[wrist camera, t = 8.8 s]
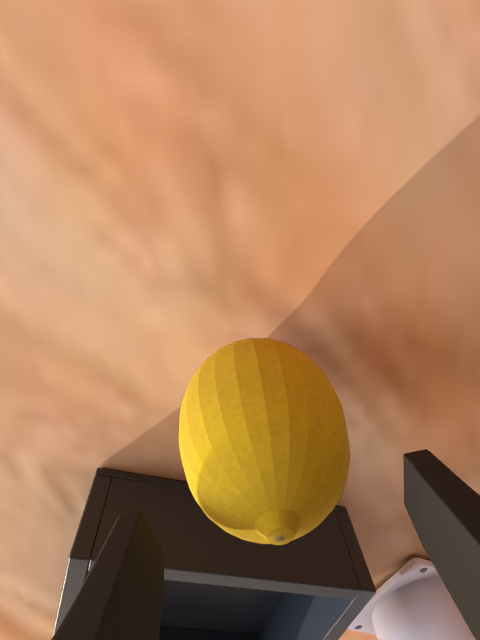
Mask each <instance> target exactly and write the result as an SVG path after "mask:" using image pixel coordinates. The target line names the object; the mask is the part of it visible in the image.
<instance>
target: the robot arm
mask: <svg viewBox="0 0 480 640" xmlns="http://www.w3.org/2000/svg"><path fill="white" fill-rule="evenodd" d="M404 504H405V507H406V509H407V511H408V514H409V516H410V518H411V521H412V523H413V525H414V528H415V530H416V532H417V534H418V536H419V539H420V541H421V543H422V545H423V547H424V549H425V551H426V553H427V554H428V556H429V558H430V560H431V561H428V560H425V559H422V558H413V559H411V560H409V561H408V562H407V563H406V564H405V565H404V566H403V567H402V568H401V569H399V570H398V571H397V572H396V573H395V574H394V575H393V576H392V577H391V578H389V579H388V580H387V581H386V582H385V583H384V584H383V585H382V586H381V587H380V588H378V589H377V590H376V593H375V594H374V596H373V597H372V598H371V599H370V601H369V602H368V603H367V604H366V606H365V607H364V608H363V609H362V611H361V612H360V613H359V614H358V616H357V617H356V618H355V619H354V621H353V622H352V623H351V624H350V626H349V627H348V628H347V629H349V630H354V631H359V632H363V633H368V634H373V635H377V638H378V640H480V495H478V494H477V493H476V492H475V491H474V490H473V489H471V488H470V487H469V486H468V485H467V484H466V483H464V482H463V481H462V480H461V479H460V478H459V477H458V476H456V475H455V474H454V473H453V472H452V471H451V470H450V469H449V468H448V467H446V466H445V465H444V464H443V463H442V462H441V461H440V460H439V459H438V458H437V457H435V456H434V455H433V454H432V453H431V452H430V451H428V450H427V449H425V450H420V451H415V452H411V453H406V454H404ZM163 597H164V552H163V550H162V548H161V546H160V544H159V542H158V540H157V538H156V536H155V534H154V532H153V530H152V528H151V526H150V524H149V522H148V520H147V518H146V516H145V514H144V512H143V510H142V509H139V510H134V511H129V512H125V513H120V515H119V516H118V518H117V520H116V522H115V524H114V526H113V527H112V529H111V531H110V533H109V535H108V537H107V539H106V541H105V543H104V545H103V547H102V549H101V551H100V553H99V555H98V557H97V559H96V561H95V562H94V564H93V566H92V568H91V570H90V572H89V574H88V576H87V578H86V579H85V581H84V583H83V585H82V587H81V588H80V590H79V592H78V594H77V596H76V598H75V599H74V601H73V603H72V605H71V607H70V608H69V610H68V612H67V614H66V615H65V617H64V619H63V620H62V622H61V624H60V625H59V627H58V629H57V631H56V632H55V634H54V636H53V637H52V639H51V640H158V639H159V631H160V623H161V614H162V606H163Z"/></svg>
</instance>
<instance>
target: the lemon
mask: <svg viewBox="0 0 480 640" xmlns="http://www.w3.org/2000/svg"><path fill="white" fill-rule="evenodd" d="M179 449H180V455H181V460H182V464H183V468H184V472H185V475H186V479H187V482H188V485H189V488H190V491H191V493H192V495H193V497H194V499H195V500H196V502H197V503H198V504H199V506H200V507H201V509H202V510H203V512H204V513H205V514H206V515H207V517H208V518H209V519H210V520H212V521H213V522H214V523H215V524H217V525H218V526H219V527H220V528H222V529H223V530H224V531H226V532H228V533H230V534H232V535H234V536H236V537H238V538H240V539H243V540H246V541H250V542H255V543H260V544H273V545H284V544H287V543H289V542H290V541H291V540H295V539H297V538H299V537H301V536H303V535H305V534H307V533H309V532H310V531H311V530H313V529H314V528H316V527H317V526H318V525H320V523H321V522H322V521H323V520H324V519H325V518H326V517H327V516H328V515H329V514H330V513H331V511H332V510H333V509H334V507H335V506H336V504H337V502H338V500H339V498H340V496H341V494H342V492H343V490H344V487H345V484H346V480H347V474H348V468H349V459H350V452H349V440H348V434H347V428H346V423H345V417H344V413H343V409H342V406H341V403H340V401H339V398H338V397H337V395H336V393H335V391H334V389H333V387H332V386H331V384H330V382H329V380H328V378H327V377H326V375H325V374H324V372H323V371H322V370H321V369H320V368H319V367H318V366H317V365H316V364H315V363H314V362H313V361H312V360H311V359H310V358H309V357H308V356H306V355H305V354H304V353H303V352H301V351H299V350H297V349H296V348H294V347H292V346H290V345H288V344H286V343H284V342H280V341H276V340H272V339H266V338H250V339H245V340H241V341H236V342H234V343H231V344H229V345H227V346H225V347H223V348H220V349H219V350H217V351H216V352H215V353H214V354H212V355H211V356H210V357H209V358H207V359H206V360H205V361H204V362H203V364H202V365H201V366H200V368H199V369H198V370H197V371H196V373H195V374H194V375H193V377H192V379H191V381H190V383H189V386H188V388H187V391H186V394H185V396H184V399H183V401H182V405H181V410H180V420H179Z"/></svg>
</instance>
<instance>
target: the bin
mask: <svg viewBox="0 0 480 640" xmlns="http://www.w3.org/2000/svg"><path fill="white" fill-rule="evenodd" d="M139 509H142V510H143V512H144V514H145V516H146V518H147V520H148V522H149V524H150V526H151V528H152V530H153V532H154V534H155V536H156V538H157V540H158V542H159V544H160V546H161V548H162V550H163V552H164V597H163V606H162V614H161V623H160V631H159V639H158V640H338V639H339V638H340V637H341V636H342V634H343V633H344V632H345V631H346V629H347V628H348V627H349V626H350V624H351V623H352V622H353V621H354V619H355V618H356V617H357V616H358V614H359V613H360V612H361V611H362V609H363V608H364V607H365V606H366V604H367V603H368V602H369V601H370V599H371V598H372V597H373V596H374V594H375V593H376V589H375V587H374V584H373V581H372V578H371V576H370V573H369V570H368V567H367V565H366V562H365V559H364V556H363V554H362V551H361V548H360V545H359V543H358V540H357V537H356V534H355V531H354V529H353V526H352V523H351V520H350V518H349V515H348V512H347V509H346V508H345V507H339V506H335V507H334V509H333V510H332V511H331V513H330V514H329V515H328V516H327V517H326V518H325V519H324V520H323V521H322V522H321V523H320V525H318V526H317V527H316V528H314V529H313V530H311V531H310V532H309V533H307V534H305V535H303V536H301V537H299V538H297V539H295V540H291V541H290V542H289V543H287V544H284V545H273V544H260V543H255V542H250V541H246V540H243V539H240V538H238V537H236V536H234V535H232V534H230V533H228V532H226V531H224V530H223V529H222V528H220V527H219V526H218V525H217V524H215V523H214V522H213V521H212V520H210V519H209V518H208V517H207V515H206V514H205V513H204V512H203V510H202V509H201V507H200V506H199V504H198V503H197V502H196V500H195V499H194V497H193V495H192V493H191V491H190V488H189V485H188V482H184V481H178V480H171V479H165V478H159V477H153V476H146V475H140V474H134V473H128V472H122V471H115V470H109V469H103V468H97V471H96V474H95V477H94V481H93V484H92V487H91V490H90V493H89V496H88V499H87V502H86V506H85V509H84V512H83V515H82V518H81V521H80V524H79V527H78V531H77V534H76V537H75V540H74V543H73V546H72V549H71V552H70V556H69V560H68V564H67V569H66V574H65V579H64V584H63V588H62V593H61V598H60V603H59V607H58V612H57V617H56V622H55V626H54V631H53V636H54V634H55V632H56V631H57V629H58V627H59V625H60V624H61V622H62V620H63V619H64V617H65V615H66V614H67V612H68V610H69V608H70V607H71V605H72V603H73V601H74V599H75V598H76V596H77V594H78V592H79V590H80V588H81V587H82V585H83V583H84V581H85V579H86V578H87V576H88V574H89V572H90V570H91V568H92V566H93V564H94V562H95V561H96V559H97V557H98V555H99V553H100V551H101V549H102V547H103V545H104V543H105V541H106V539H107V537H108V535H109V533H110V531H111V529H112V527H113V526H114V524H115V522H116V520H117V518H118V516H119V515H120V513H125V512H129V511H134V510H139ZM53 636H52V637H53Z"/></svg>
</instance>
